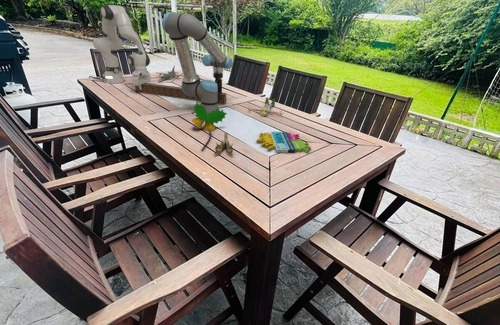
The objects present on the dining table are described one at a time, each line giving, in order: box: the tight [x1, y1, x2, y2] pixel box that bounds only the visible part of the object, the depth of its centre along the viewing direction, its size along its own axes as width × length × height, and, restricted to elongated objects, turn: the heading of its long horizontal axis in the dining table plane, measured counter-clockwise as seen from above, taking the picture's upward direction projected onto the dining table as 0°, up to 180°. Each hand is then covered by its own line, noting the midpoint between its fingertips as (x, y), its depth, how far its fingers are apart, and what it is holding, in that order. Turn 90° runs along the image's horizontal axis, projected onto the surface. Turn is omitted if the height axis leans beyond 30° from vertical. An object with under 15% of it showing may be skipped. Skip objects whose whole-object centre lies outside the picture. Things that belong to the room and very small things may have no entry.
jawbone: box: [214, 131, 234, 156], centre depth 136 cm, size 9×15×10 cm
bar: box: [134, 82, 227, 105], centre depth 219 cm, size 81×6×8 cm, turn 75°
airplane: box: [157, 65, 184, 83], centre depth 276 cm, size 38×32×10 cm
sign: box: [256, 131, 312, 154], centre depth 152 cm, size 26×2×30 cm
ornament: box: [191, 102, 228, 132], centre depth 162 cm, size 21×8×15 cm, turn 105°
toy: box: [246, 97, 284, 117], centre depth 201 cm, size 28×7×30 cm
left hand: (143, 88), depth 226 cm, fingers closed on bar, 5 cm apart
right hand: (217, 101), depth 214 cm, fingers closed on bar, 6 cm apart
